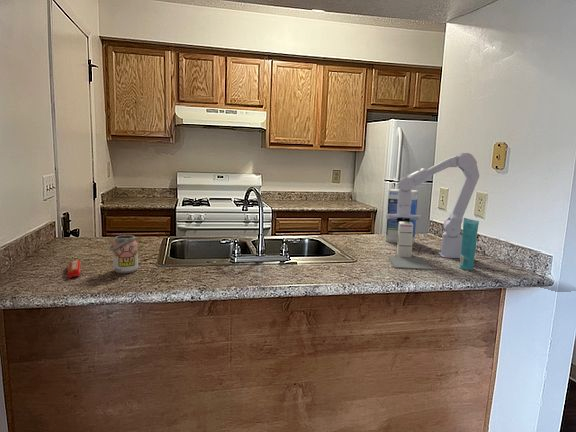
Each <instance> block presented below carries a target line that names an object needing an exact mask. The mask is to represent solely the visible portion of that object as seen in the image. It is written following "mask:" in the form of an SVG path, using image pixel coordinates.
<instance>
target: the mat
mask: <svg viewBox="0 0 576 432" xmlns="http://www.w3.org/2000/svg"><path fill="white" fill-rule="evenodd" d="M388 259H389V261H390V263H391V265H392V266H393V268H394V269H405V270H421V271H422V270H423V271H425V270H426V271H433V268H432V267H431V265H430V264H429V263H428V262H427V261H426V260H425V259H424V258H423V257H414V256H411V257H398V256H391V255H388Z"/></svg>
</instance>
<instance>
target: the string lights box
mask: <svg viewBox="0 0 576 432" xmlns="http://www.w3.org/2000/svg"><path fill="white" fill-rule="evenodd" d="M418 192H419V190H418V189H416V190H414V189H411V195H412V198H411V212H410V214H411V215H417V212H418V211H417V209H418ZM387 194H388V195H387V213H386V214H397V204H398V194H399V188H398V189H397V188H391V189H389V190H388V193H387ZM396 218H397V217H396ZM399 218H402V217H399ZM410 222H412V223H413V240H412V245H414V243H415V241H416V226H417V223H416V222H417V220H411V219H410ZM385 233H386V234H385V242H386V243H394V244H397V242H398V223H397V220H396V219H387V218H386V232H385Z"/></svg>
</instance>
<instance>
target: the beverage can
mask: <svg viewBox="0 0 576 432" xmlns="http://www.w3.org/2000/svg"><path fill="white" fill-rule="evenodd" d="M138 247H139V246H138V242H137V241H136V237H135V235H132V234H127V235H126V234H123V235H117V236H115V237H114V242H112V243H111V244H110V245H109V247H108V250H109V251H112V268H113V271H114V272H115V273H117V274H131V273H134V272H137V270H138V269H139V248H138Z"/></svg>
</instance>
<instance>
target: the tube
mask: <svg viewBox="0 0 576 432" xmlns="http://www.w3.org/2000/svg"><path fill="white" fill-rule="evenodd" d="M479 222H480V221H479V220H474V219H471V218H466V217H463V220H462V235H461V236H462V246H461V256H460V258H459V259H460V260H459V268H460V269H462V270H466V271H472V270H474V267H475V266H474V264H475V255H476V245H477V238H478V230H479V224H480V223H479Z"/></svg>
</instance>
